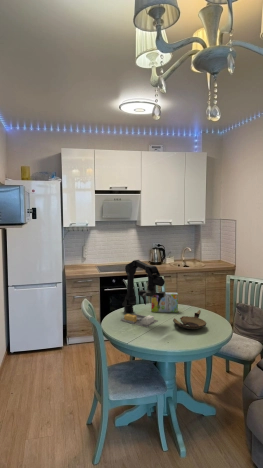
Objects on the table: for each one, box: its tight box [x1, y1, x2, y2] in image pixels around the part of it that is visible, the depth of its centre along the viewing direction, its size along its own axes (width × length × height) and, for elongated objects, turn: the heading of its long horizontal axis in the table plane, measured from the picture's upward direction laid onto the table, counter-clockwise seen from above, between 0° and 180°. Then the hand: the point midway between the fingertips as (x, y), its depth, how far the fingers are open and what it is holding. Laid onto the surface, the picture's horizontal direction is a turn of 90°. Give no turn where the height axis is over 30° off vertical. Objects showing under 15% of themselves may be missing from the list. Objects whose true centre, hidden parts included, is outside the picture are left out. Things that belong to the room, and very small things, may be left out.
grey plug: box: [143, 315, 155, 325], centre depth 224 cm, size 4×9×4 cm, turn 145°
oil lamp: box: [172, 309, 207, 330], centre depth 220 cm, size 22×30×8 cm
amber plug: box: [123, 313, 137, 322], centre depth 227 cm, size 4×9×4 cm, turn 55°
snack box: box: [150, 291, 179, 313], centre depth 254 cm, size 21×6×15 cm, turn 84°
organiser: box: [120, 313, 159, 328], centre depth 228 cm, size 23×16×3 cm
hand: (151, 305), depth 225 cm, fingers open, 9 cm apart
